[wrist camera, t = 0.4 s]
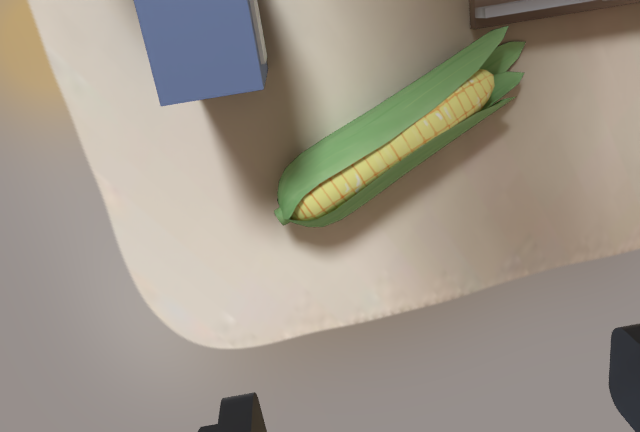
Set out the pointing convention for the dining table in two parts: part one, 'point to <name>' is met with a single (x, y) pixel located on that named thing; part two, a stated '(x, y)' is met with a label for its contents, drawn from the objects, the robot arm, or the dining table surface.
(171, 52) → the blue carton
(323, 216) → the edible corn
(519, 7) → the shelf channel
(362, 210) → the dining table surface
